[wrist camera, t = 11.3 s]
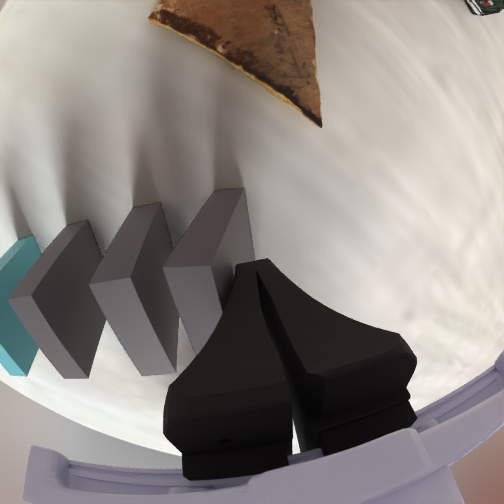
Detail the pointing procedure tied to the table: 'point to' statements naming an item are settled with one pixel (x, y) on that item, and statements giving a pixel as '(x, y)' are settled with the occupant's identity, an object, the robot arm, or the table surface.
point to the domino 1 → (3, 316)
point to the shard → (255, 42)
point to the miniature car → (485, 6)
